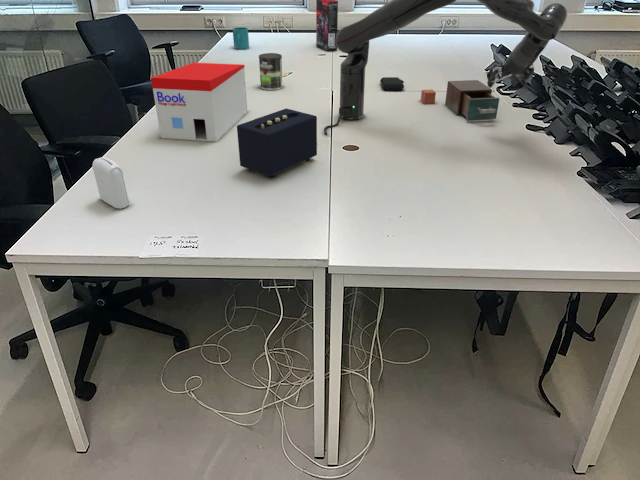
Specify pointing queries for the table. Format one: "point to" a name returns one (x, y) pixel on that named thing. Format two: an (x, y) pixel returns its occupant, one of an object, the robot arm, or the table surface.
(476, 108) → the drawer
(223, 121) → the bookstore
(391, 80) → the carrying case
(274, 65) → the coffee can
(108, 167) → the photo printer
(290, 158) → the speaker
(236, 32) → the cup
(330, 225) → the table surface
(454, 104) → the box
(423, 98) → the block
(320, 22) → the graphics card box
